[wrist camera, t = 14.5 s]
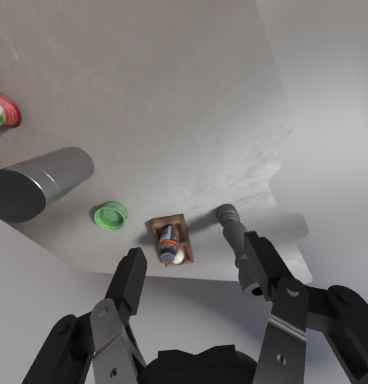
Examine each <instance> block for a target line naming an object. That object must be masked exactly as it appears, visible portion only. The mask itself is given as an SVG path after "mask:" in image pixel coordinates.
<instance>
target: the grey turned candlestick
mask: <svg viewBox="0 0 368 384" xmlns="http://www.w3.org/2000/svg"><path fill="white" fill-rule="evenodd" d="M217 217H218V220H219V222H220V224H221V225H222V227H224V228H223V235H224V237H225V239H226V240H227V241H228V243H229V244H230V246H231V247H232V249H233V251H234V253H235V256H236V259H235V265H236V267H237V268H238V269H239V277H238V278H239V282H240V285H241V287H242V291H243V294H244V296H245V297H246V298H248V299H251V300H262V299H265V298H264V295H263V293H262V291H261V288H260V286H259V284H258V281H257V279H256V277H255V274H254V272H253V270H252V267H251V265H250V263H249V260H248V258H247V256H246V253H245V249H244V232H247V231H246V228H245V226H244V225H243V224H242V223H240V218H239V215H238V213H237V211H236V209H235V207H234V206H233V205H231V204H223V205H221V206H220V207H219V208H218V209H217Z"/></svg>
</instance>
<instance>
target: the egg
mask: <svg viewBox="0 0 368 384" xmlns="http://www.w3.org/2000/svg"><path fill="white" fill-rule="evenodd" d="M183 258H184V254H183V252H182V251H181V250H180V249H179V251H178V254H177V255H176V256H175V260H174V261H173V262H172V263H174V264H179V263H180V262H182V260H183Z"/></svg>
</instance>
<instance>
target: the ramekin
mask: <svg viewBox="0 0 368 384" xmlns="http://www.w3.org/2000/svg"><path fill="white" fill-rule="evenodd" d="M126 218H127V210H126V208H125V207H124V206H123V205H122V204H120V203H118V202H113V201H111V202H107V203H105V204H104V205H103V206H102V207H101V208H99V209H98V210H97V211H96V212H95V214H94V219H95V222H96V224H97V225H98V226H99V227H101V228H102V229H104V230H107V231H118V230H120V229H122V228H123V227H124V225H125V221H126Z"/></svg>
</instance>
